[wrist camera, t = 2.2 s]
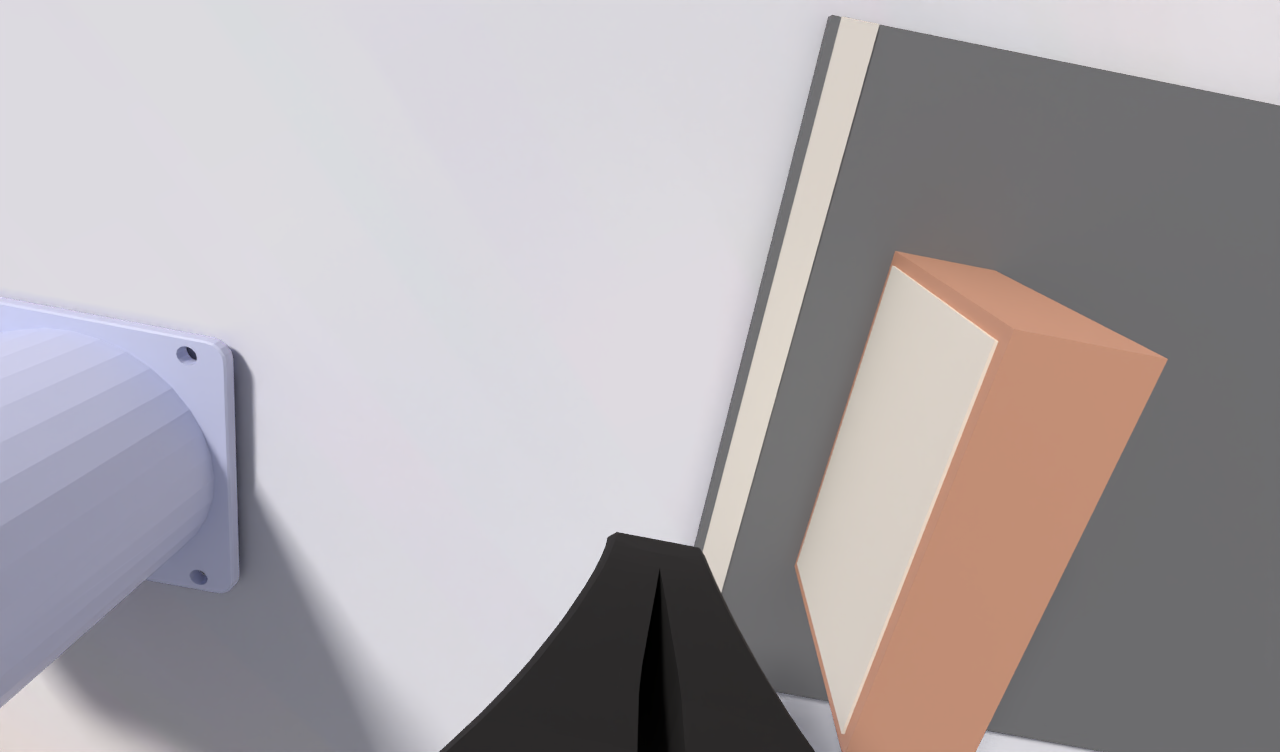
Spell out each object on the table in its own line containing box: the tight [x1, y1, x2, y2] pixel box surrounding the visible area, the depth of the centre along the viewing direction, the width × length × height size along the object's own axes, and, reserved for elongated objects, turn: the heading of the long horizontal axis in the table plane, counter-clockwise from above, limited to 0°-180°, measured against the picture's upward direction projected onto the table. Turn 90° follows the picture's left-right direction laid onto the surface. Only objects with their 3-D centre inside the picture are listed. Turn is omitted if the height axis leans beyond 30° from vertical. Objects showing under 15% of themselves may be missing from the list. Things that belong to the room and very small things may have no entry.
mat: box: [694, 15, 1280, 752], centre depth 18 cm, size 20×18×1 cm
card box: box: [794, 251, 1168, 752], centre depth 15 cm, size 2×9×6 cm, turn 169°
